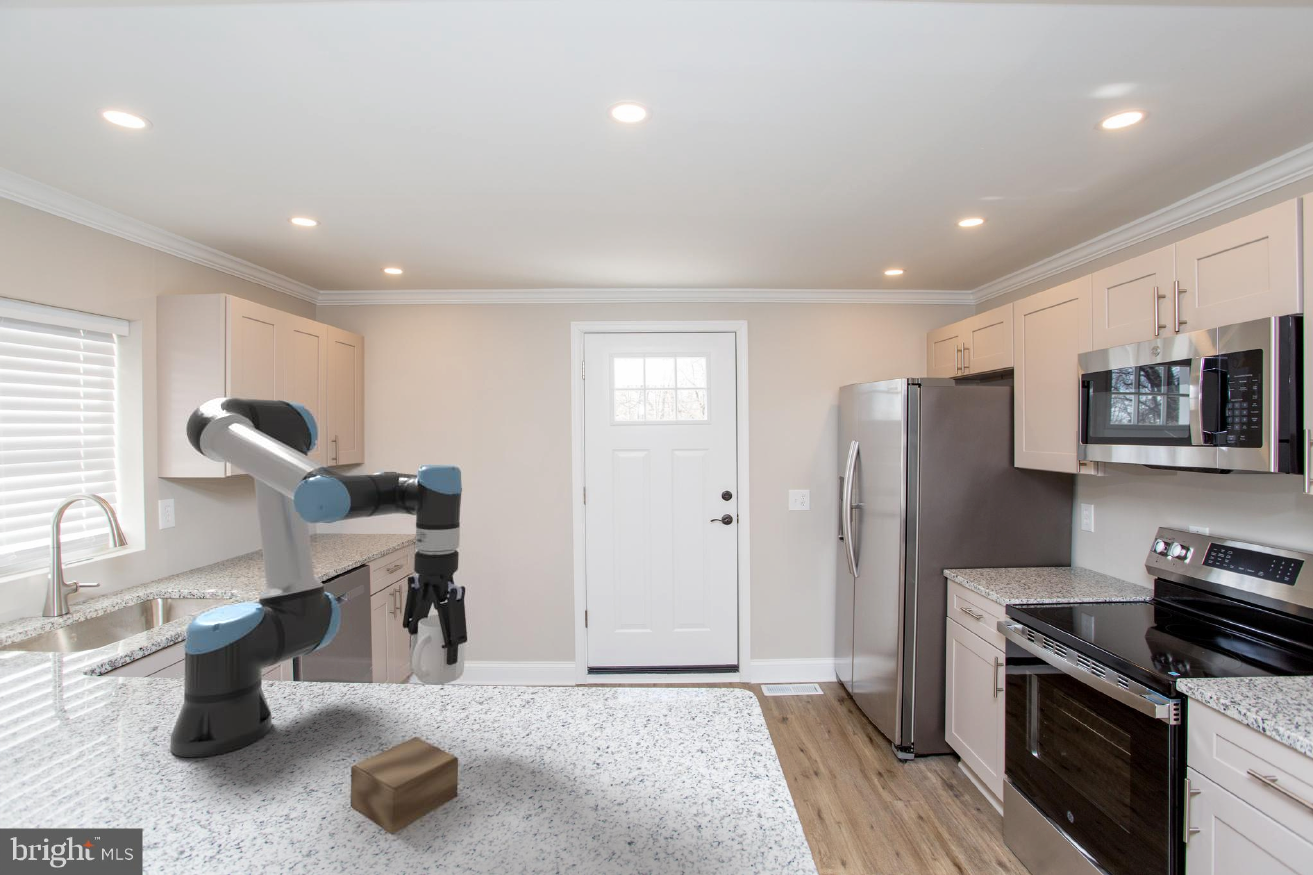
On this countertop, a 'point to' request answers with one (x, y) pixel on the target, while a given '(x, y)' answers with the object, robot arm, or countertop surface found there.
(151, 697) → the countertop surface
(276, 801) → the countertop surface
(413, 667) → the mug
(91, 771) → the countertop surface
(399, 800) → the walnut block
